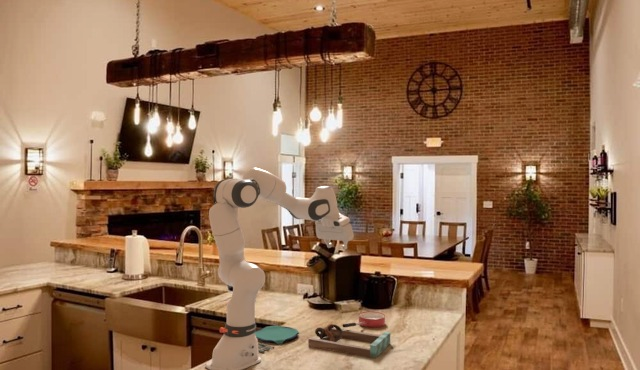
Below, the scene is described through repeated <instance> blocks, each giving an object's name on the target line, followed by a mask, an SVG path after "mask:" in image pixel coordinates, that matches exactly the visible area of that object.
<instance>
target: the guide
mask: <svg viewBox="0 0 640 370" xmlns="http://www.w3.org/2000/svg"><path fill="white" fill-rule="evenodd" d="M341 329H342V338H345V339H352V340H358V341H364V342H367V343H368V342H370V345H369V347H368V346H367V347H366V346H360V345H355V344H350V343H343V342H339V341H337V342H333V341H330V340H327V339H322V340H321V339H320V338H315V337H309V338H308V344H307V345H308V347H311V346H312V347H313V348H317V347H318V349H322V348H323V349H324V350H328V351H333V350H334V351H335V352H339V353H345V354H349V355H357V356H361V357H366V358H373V359H377V358H378V357H379V356H380V355H381V353H383V351H385V350H386V349H387V347H389V345H390V344H391V332H390V331H384V332H383V333H382V334H381V335H380V334H375V333H369V332H363V331H357V330H350V329H344V328H341ZM329 332H331V333H333V335H332V336H333V337H334V335H339V334H340V331H339V330H336V328H335V327H334V328H332V329H330V331H329ZM323 349H322V350H323ZM334 351H333V352H334Z"/></svg>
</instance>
